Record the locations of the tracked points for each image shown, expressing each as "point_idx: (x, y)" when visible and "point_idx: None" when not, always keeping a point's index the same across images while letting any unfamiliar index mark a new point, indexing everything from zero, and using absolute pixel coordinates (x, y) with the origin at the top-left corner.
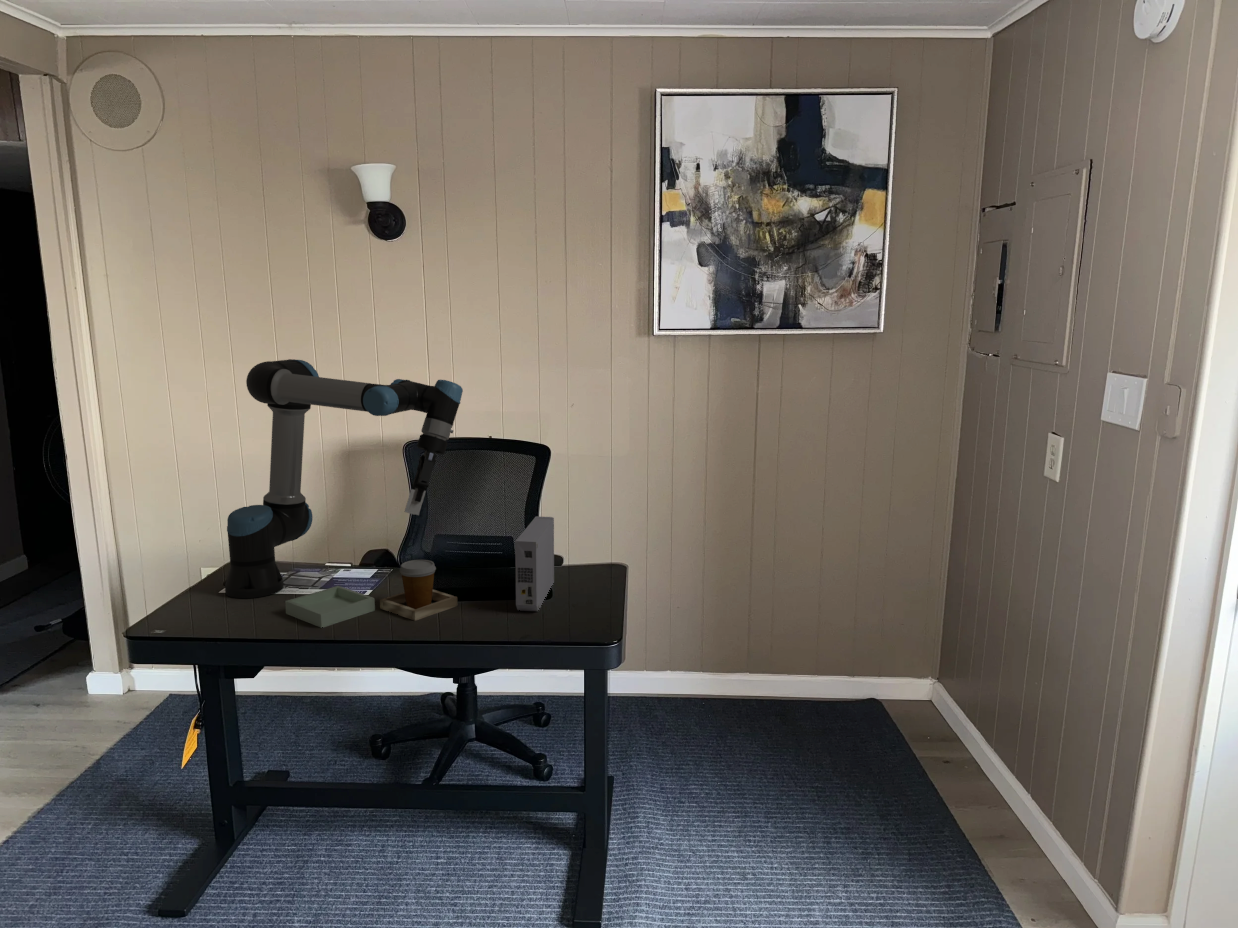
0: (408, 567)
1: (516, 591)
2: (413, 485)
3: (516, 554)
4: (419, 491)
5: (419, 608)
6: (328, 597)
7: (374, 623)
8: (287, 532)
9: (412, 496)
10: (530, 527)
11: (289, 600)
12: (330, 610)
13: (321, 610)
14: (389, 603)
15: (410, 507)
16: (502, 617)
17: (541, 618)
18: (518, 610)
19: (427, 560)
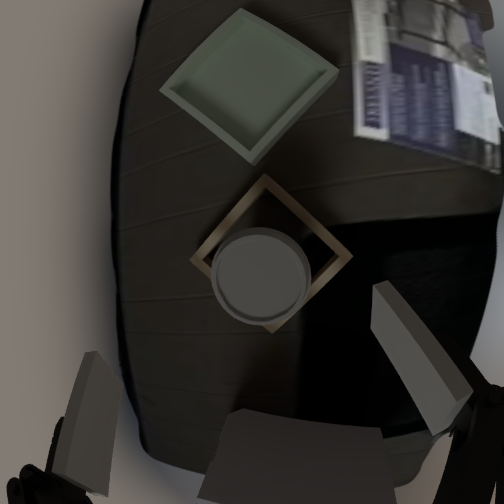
0: (240, 257)
1: (222, 429)
2: (473, 426)
3: (204, 478)
4: (52, 466)
5: (206, 267)
6: (307, 63)
7: (185, 182)
8: None
9: (424, 374)
10: None
11: (243, 12)
12: (179, 97)
13: (237, 69)
14: (242, 198)
15: (80, 376)
16: (214, 388)
17: (212, 427)
18: (243, 409)
19: (296, 305)
